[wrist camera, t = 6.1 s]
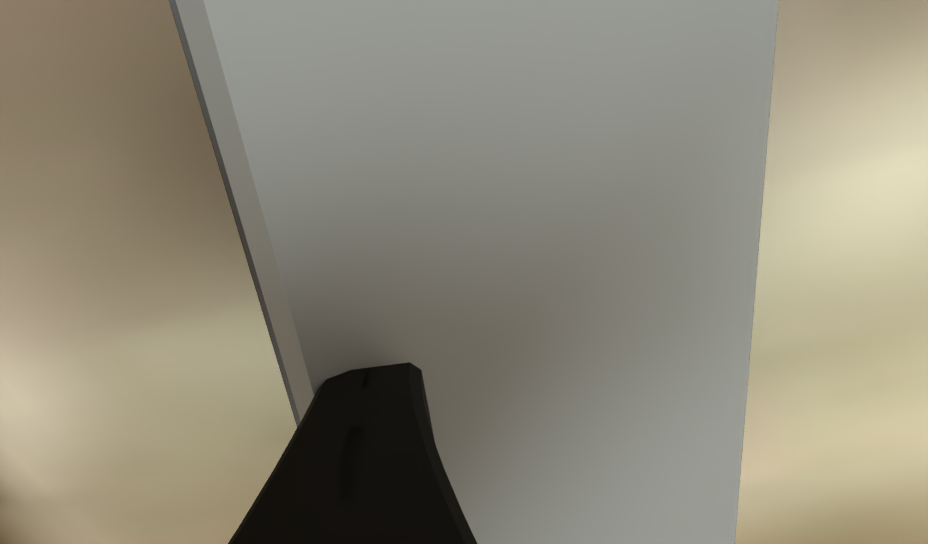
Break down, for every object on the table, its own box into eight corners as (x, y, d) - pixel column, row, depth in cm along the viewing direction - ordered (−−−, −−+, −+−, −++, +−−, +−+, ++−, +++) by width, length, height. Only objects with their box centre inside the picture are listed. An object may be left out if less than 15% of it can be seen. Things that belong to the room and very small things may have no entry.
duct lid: (709, 552, 18) (732, 568, 18) (420, 825, 14) (442, 855, 14) (774, -596, 9) (828, -618, 8) (-47, -745, 5) (-24, -809, 4)
